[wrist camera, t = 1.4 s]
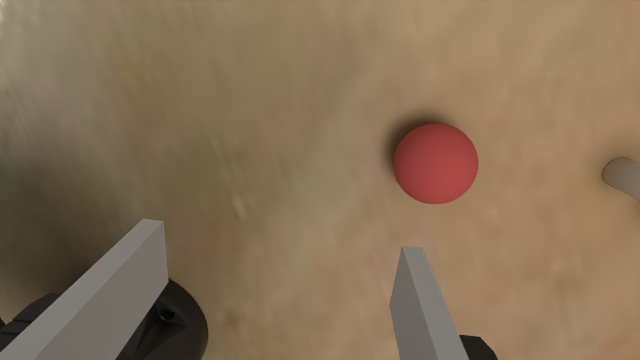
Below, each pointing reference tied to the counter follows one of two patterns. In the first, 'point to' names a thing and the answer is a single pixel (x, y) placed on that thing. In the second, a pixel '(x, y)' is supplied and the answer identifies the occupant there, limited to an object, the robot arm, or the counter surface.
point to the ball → (435, 163)
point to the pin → (624, 176)
